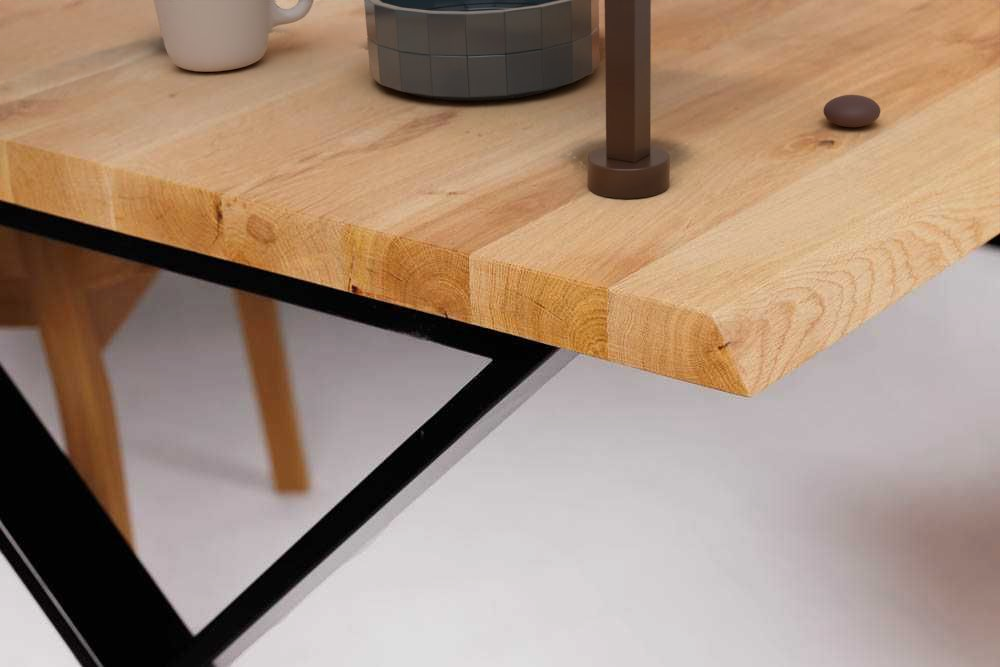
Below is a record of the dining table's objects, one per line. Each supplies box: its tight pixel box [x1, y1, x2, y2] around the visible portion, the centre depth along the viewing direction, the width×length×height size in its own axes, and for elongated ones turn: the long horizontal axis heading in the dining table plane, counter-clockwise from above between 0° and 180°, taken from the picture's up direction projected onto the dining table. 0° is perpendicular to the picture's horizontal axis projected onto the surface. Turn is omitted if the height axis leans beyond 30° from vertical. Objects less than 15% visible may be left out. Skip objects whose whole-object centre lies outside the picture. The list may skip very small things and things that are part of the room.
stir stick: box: [586, 0, 671, 200], centre depth 68 cm, size 4×4×11 cm
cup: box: [153, 0, 314, 73], centre depth 95 cm, size 11×8×8 cm
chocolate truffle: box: [822, 94, 881, 128], centre depth 78 cm, size 3×3×2 cm
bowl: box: [363, 0, 601, 102], centre depth 89 cm, size 14×14×6 cm
